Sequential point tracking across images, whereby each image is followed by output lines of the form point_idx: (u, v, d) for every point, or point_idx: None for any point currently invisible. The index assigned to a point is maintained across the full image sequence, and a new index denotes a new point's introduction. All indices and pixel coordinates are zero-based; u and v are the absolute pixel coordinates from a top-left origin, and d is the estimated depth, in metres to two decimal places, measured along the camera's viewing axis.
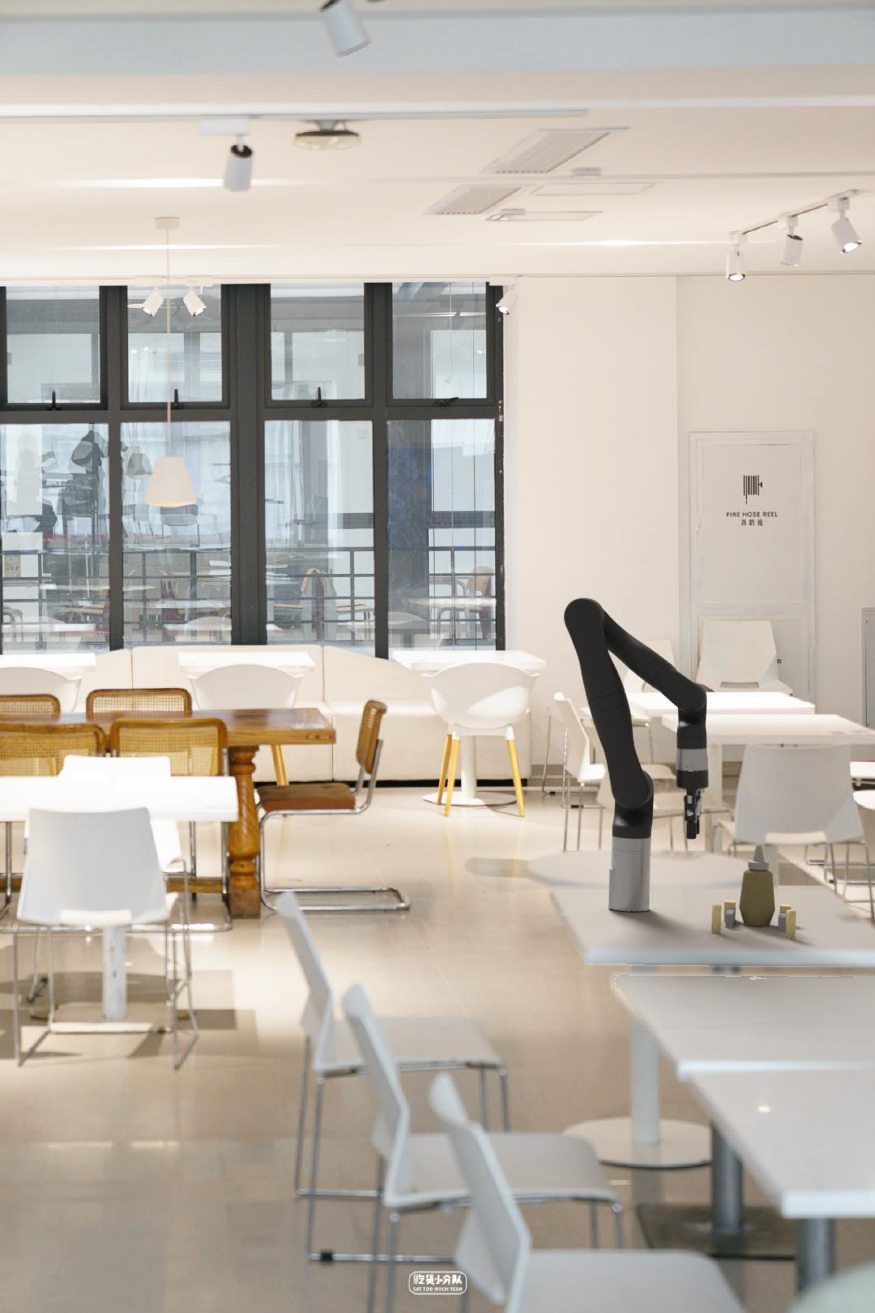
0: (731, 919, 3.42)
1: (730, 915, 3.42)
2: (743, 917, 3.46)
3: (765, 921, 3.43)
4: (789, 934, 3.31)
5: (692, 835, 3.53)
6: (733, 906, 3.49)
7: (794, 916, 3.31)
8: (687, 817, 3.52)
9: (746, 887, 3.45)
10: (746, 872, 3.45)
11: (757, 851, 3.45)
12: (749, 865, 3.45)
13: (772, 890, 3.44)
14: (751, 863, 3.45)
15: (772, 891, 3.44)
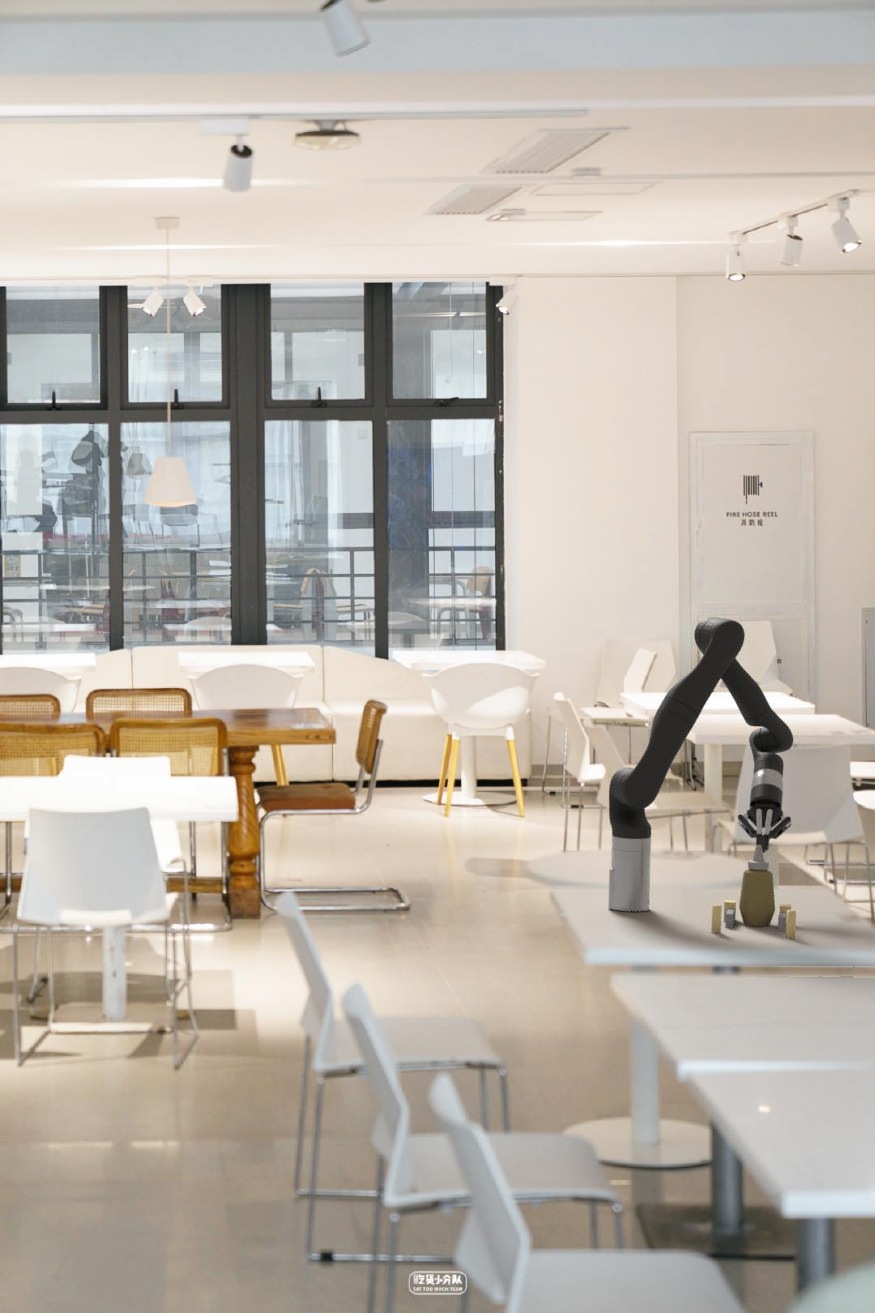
0: (731, 919, 3.42)
1: (730, 915, 3.42)
2: (743, 917, 3.46)
3: (765, 921, 3.43)
4: (789, 934, 3.31)
5: (768, 848, 3.57)
6: (733, 906, 3.49)
7: (794, 916, 3.31)
8: None
9: (746, 887, 3.45)
10: (746, 872, 3.45)
11: (757, 851, 3.45)
12: (749, 865, 3.45)
13: (772, 890, 3.44)
14: (751, 863, 3.45)
15: (772, 891, 3.44)
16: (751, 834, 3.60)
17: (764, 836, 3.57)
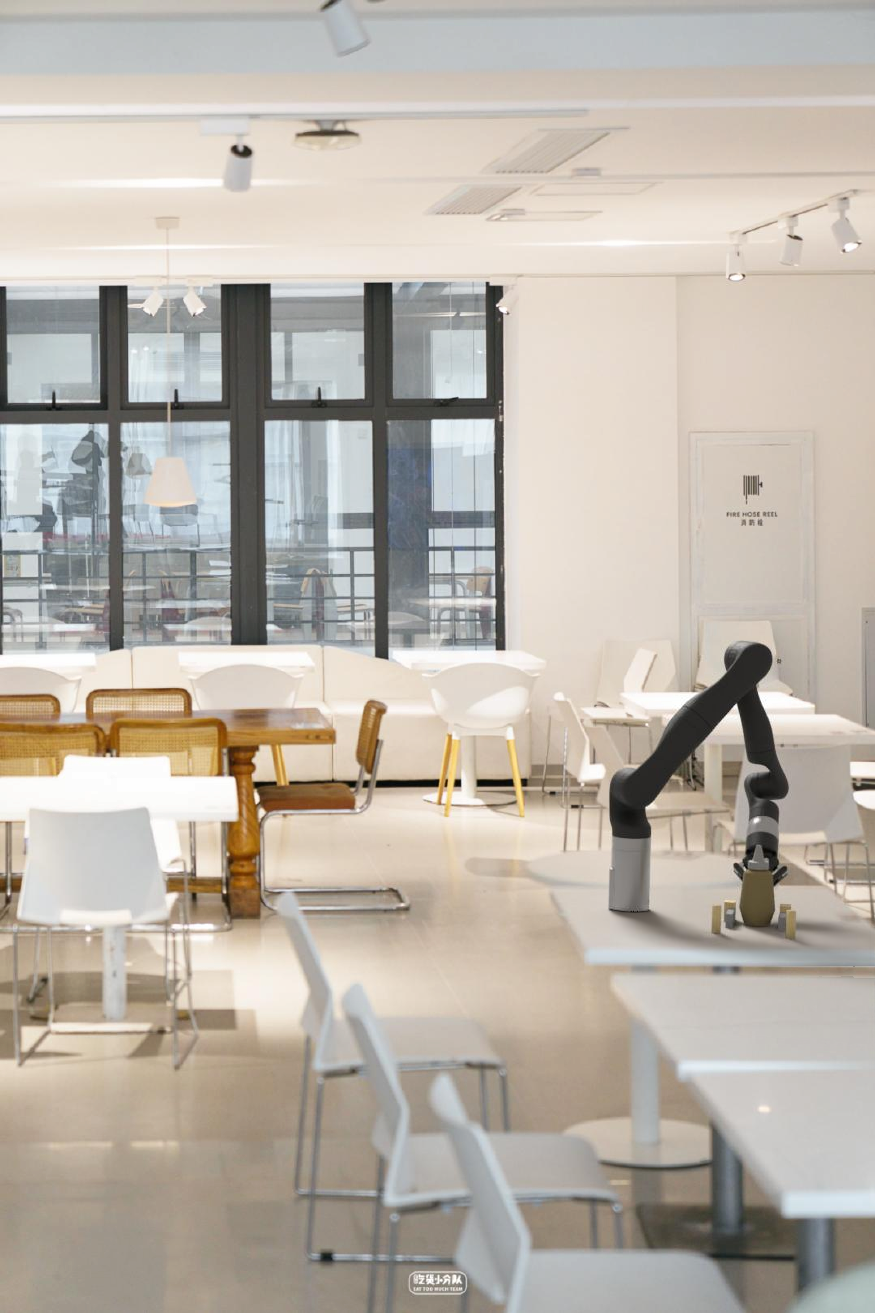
0: (731, 919, 3.42)
1: (730, 915, 3.42)
2: (743, 917, 3.45)
3: (765, 921, 3.43)
4: (789, 934, 3.31)
5: None
6: (733, 906, 3.49)
7: (794, 916, 3.31)
8: None
9: (746, 887, 3.44)
10: (746, 872, 3.45)
11: (757, 851, 3.45)
12: (749, 865, 3.45)
13: (772, 890, 3.44)
14: (751, 863, 3.45)
15: (772, 891, 3.44)
16: None
17: None
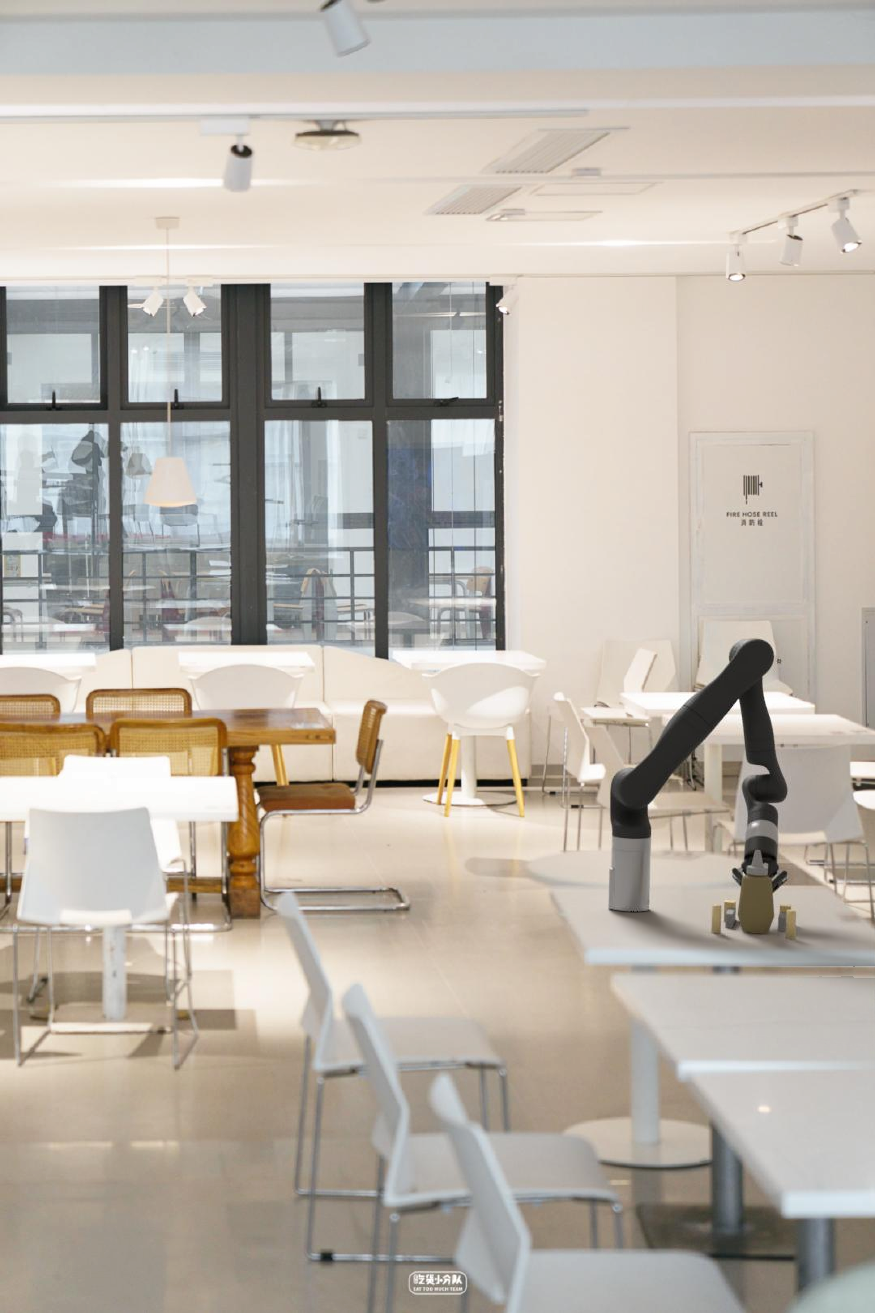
0: (731, 919, 3.42)
1: (730, 915, 3.42)
2: (741, 923, 3.38)
3: (762, 928, 3.35)
4: (789, 934, 3.31)
5: None
6: (733, 906, 3.49)
7: (794, 916, 3.31)
8: None
9: (743, 893, 3.37)
10: (744, 877, 3.38)
11: (755, 856, 3.37)
12: (747, 870, 3.38)
13: (770, 896, 3.36)
14: (749, 868, 3.37)
15: (770, 897, 3.36)
16: None
17: None
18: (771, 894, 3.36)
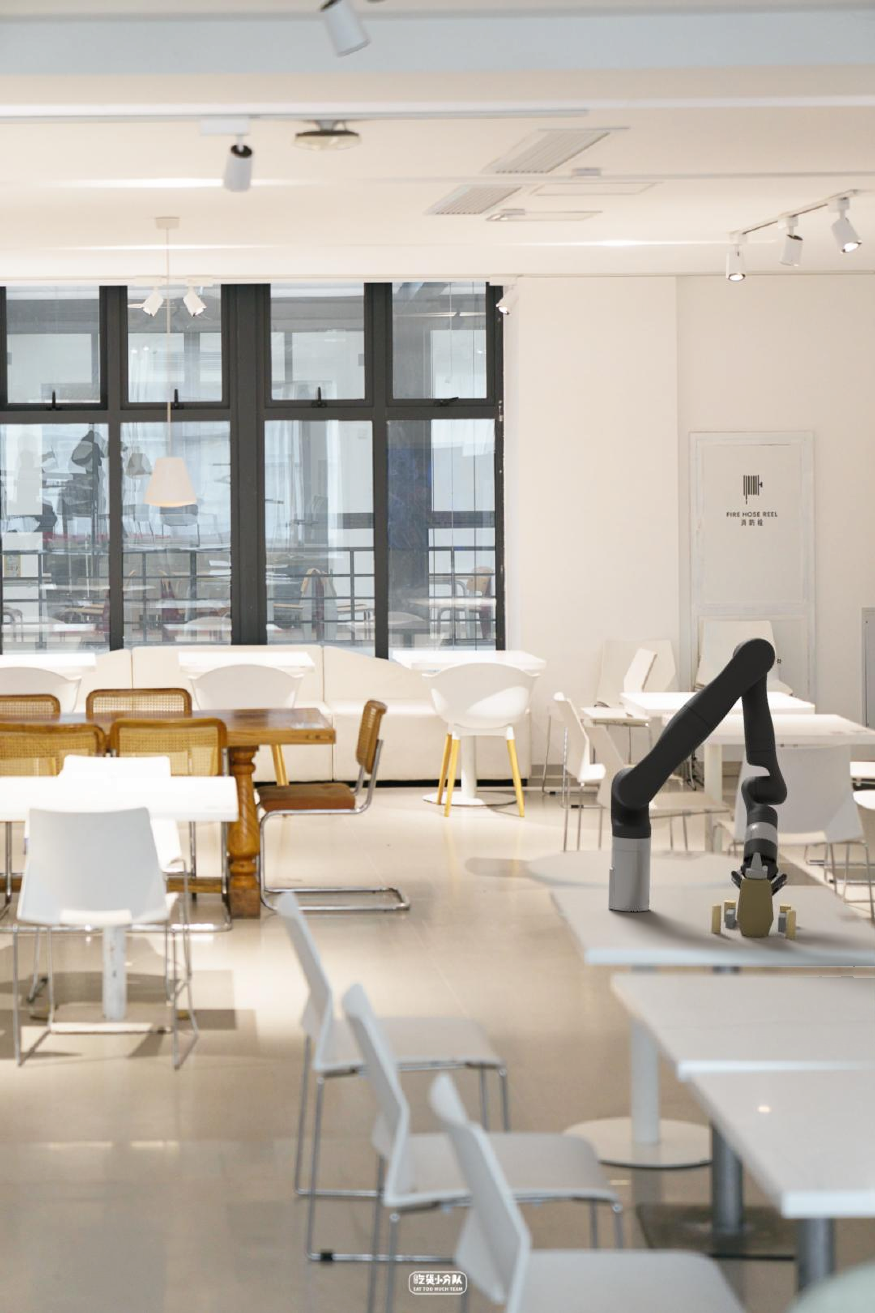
0: (731, 919, 3.42)
1: (730, 915, 3.42)
2: (740, 927, 3.34)
3: (761, 931, 3.31)
4: (789, 934, 3.31)
5: None
6: (733, 906, 3.49)
7: (794, 916, 3.31)
8: None
9: (742, 896, 3.33)
10: (743, 880, 3.34)
11: (755, 859, 3.34)
12: (746, 873, 3.34)
13: (770, 900, 3.32)
14: (748, 871, 3.33)
15: (770, 901, 3.32)
16: None
17: None
18: (770, 897, 3.32)
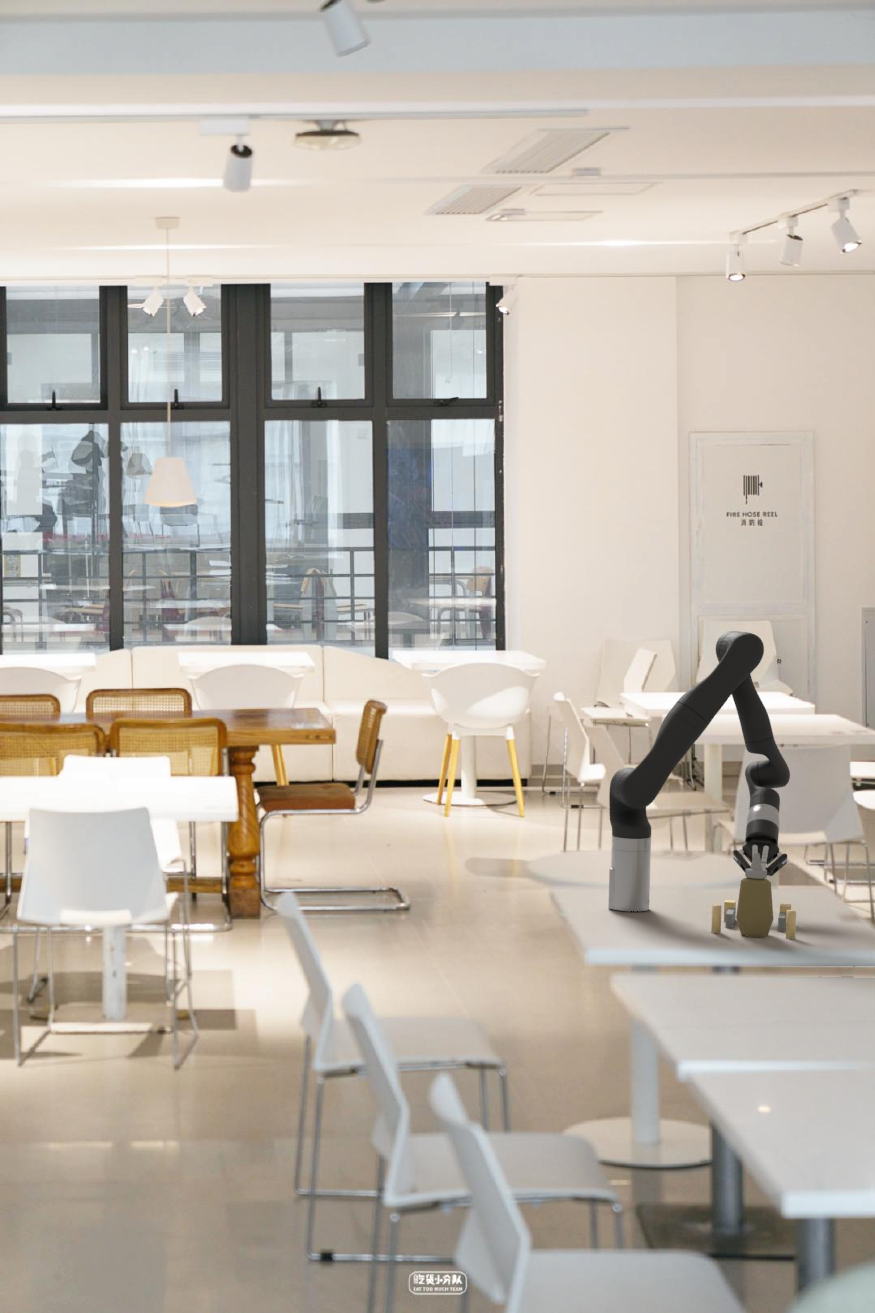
0: (731, 919, 3.42)
1: (730, 915, 3.42)
2: (739, 927, 3.34)
3: (761, 931, 3.31)
4: (789, 934, 3.31)
5: None
6: (733, 906, 3.49)
7: (794, 916, 3.31)
8: None
9: (742, 896, 3.33)
10: (743, 880, 3.34)
11: (754, 859, 3.33)
12: (746, 873, 3.34)
13: (769, 900, 3.32)
14: (748, 871, 3.33)
15: (769, 901, 3.32)
16: None
17: None
18: (770, 897, 3.32)
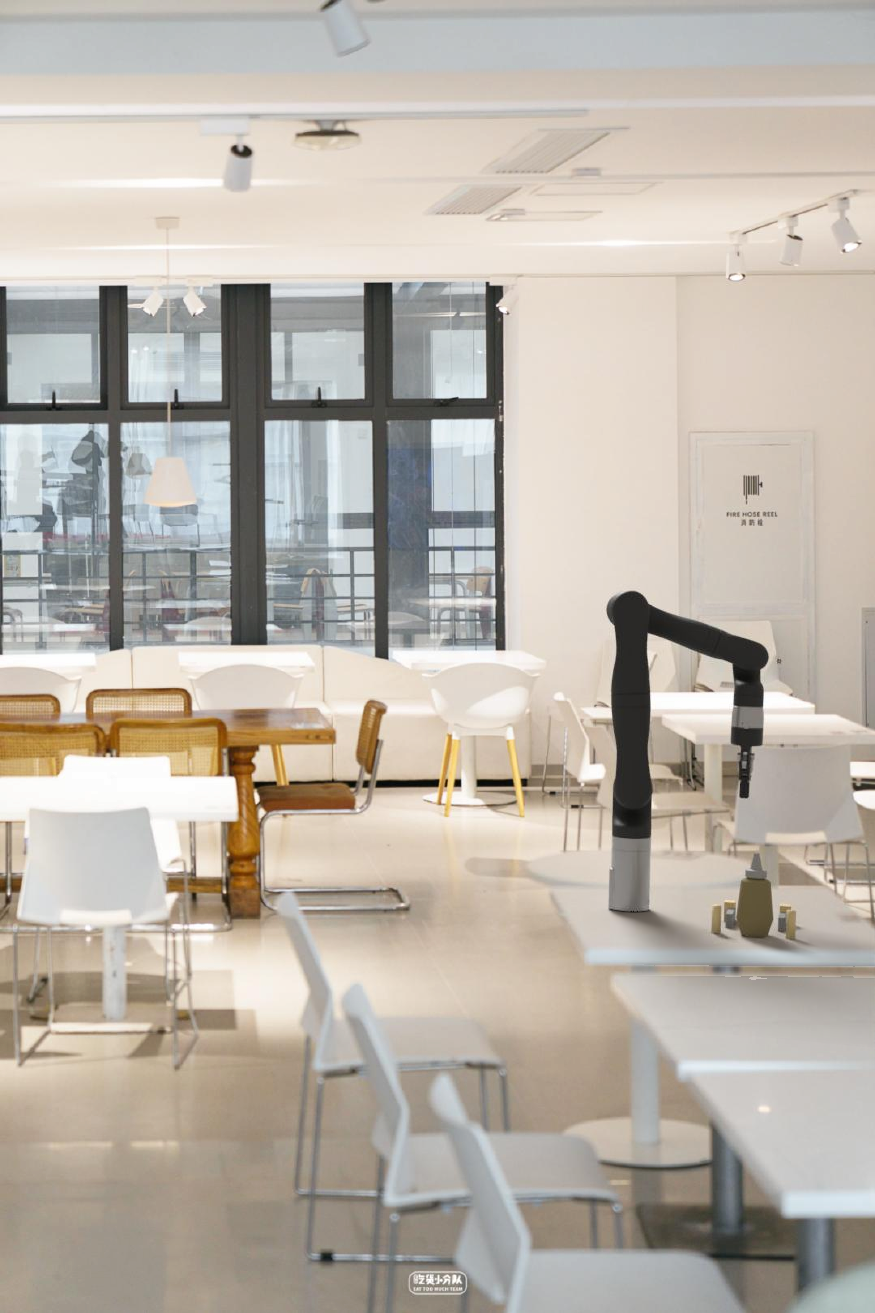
0: (731, 919, 3.42)
1: (730, 915, 3.42)
2: (739, 927, 3.34)
3: (761, 931, 3.31)
4: (789, 934, 3.31)
5: (745, 794, 3.62)
6: (733, 906, 3.49)
7: (794, 916, 3.31)
8: (741, 776, 3.61)
9: (742, 896, 3.33)
10: (743, 880, 3.34)
11: (754, 859, 3.33)
12: (746, 873, 3.34)
13: (769, 900, 3.32)
14: (748, 871, 3.33)
15: (769, 901, 3.32)
16: None
17: None
18: (770, 897, 3.32)
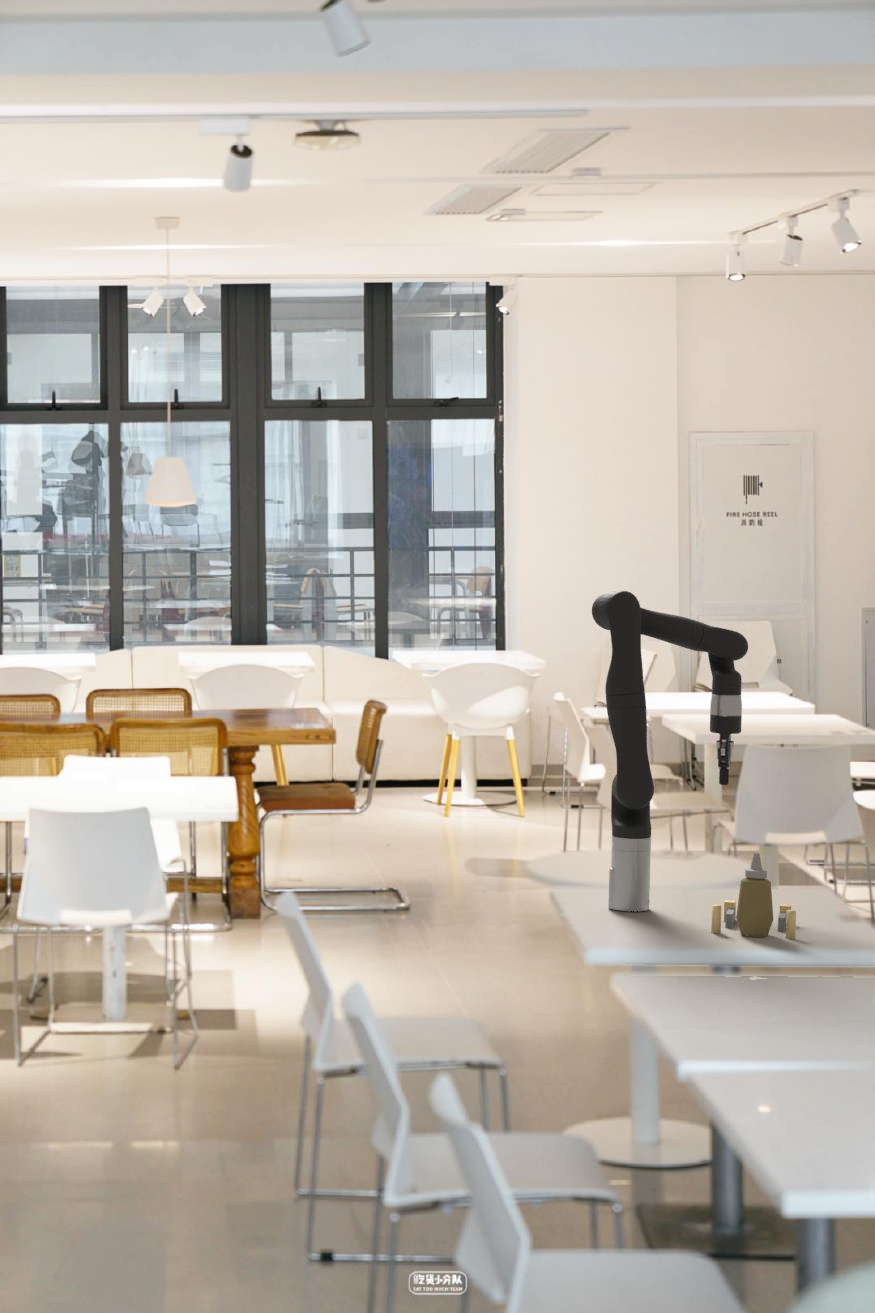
0: (731, 919, 3.42)
1: (730, 915, 3.42)
2: (739, 927, 3.34)
3: (761, 931, 3.31)
4: (789, 934, 3.31)
5: (725, 781, 3.70)
6: (733, 906, 3.49)
7: (794, 916, 3.31)
8: (721, 763, 3.69)
9: (742, 896, 3.33)
10: (743, 880, 3.34)
11: (754, 859, 3.33)
12: (746, 873, 3.34)
13: (769, 900, 3.32)
14: (748, 871, 3.33)
15: (769, 901, 3.32)
16: None
17: (719, 771, 3.71)
18: (770, 897, 3.32)
